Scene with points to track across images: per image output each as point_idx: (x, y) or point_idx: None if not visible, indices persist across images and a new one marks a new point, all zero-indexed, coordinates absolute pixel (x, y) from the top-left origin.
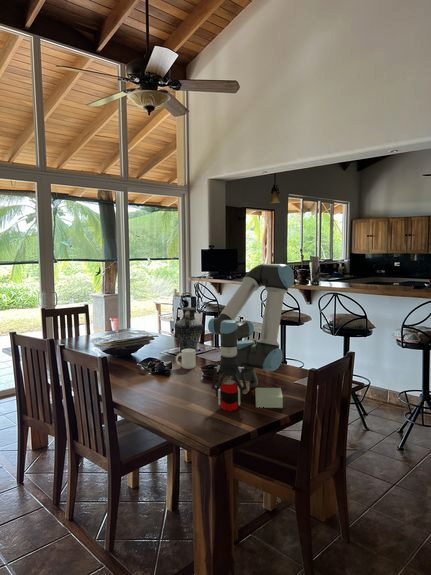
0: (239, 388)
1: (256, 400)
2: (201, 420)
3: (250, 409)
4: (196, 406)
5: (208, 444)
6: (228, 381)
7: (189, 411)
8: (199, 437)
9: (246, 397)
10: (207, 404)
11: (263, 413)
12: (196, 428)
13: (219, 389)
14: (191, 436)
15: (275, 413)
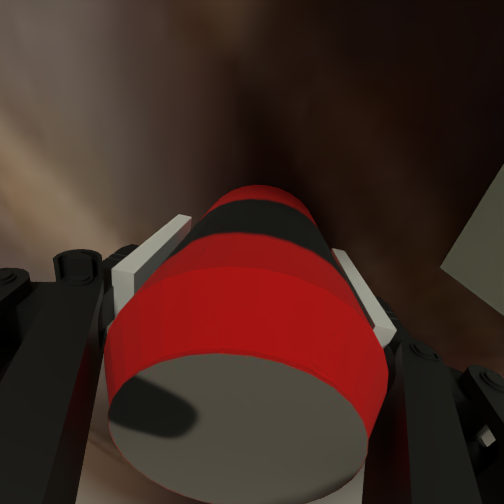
0: None
1: (481, 297)
2: (103, 356)
3: (387, 288)
4: (29, 177)
5: (151, 481)
6: (224, 419)
7: (11, 250)
8: (118, 451)
9: (491, 9)
10: (102, 150)
11: (433, 348)
12: (96, 407)
13: (124, 292)
14: (91, 443)
15: (499, 359)
